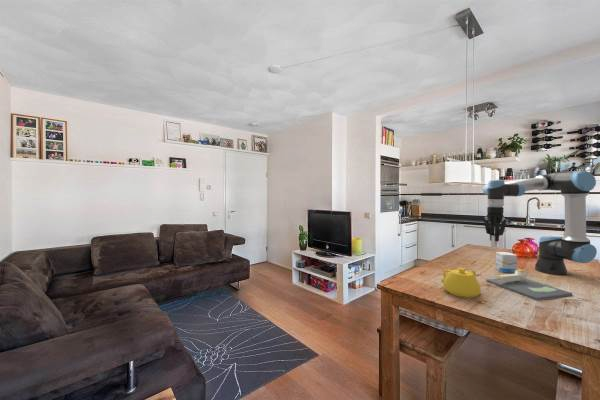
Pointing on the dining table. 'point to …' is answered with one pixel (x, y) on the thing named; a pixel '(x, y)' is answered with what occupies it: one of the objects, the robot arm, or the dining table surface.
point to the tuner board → (531, 289)
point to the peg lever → (513, 276)
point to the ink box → (506, 262)
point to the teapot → (461, 283)
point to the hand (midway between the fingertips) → (494, 246)
